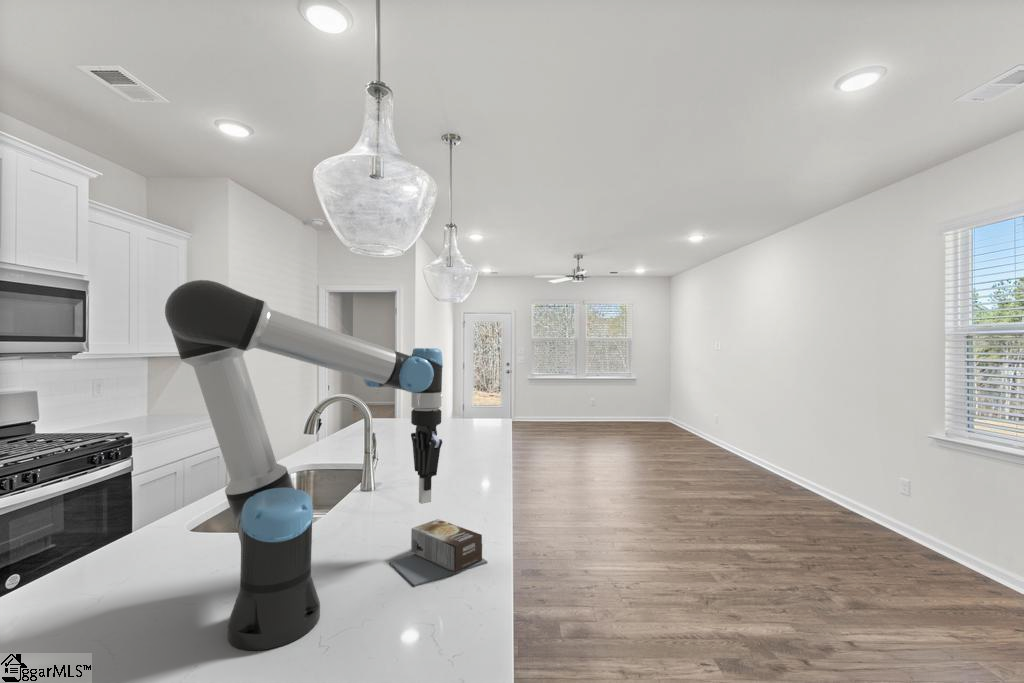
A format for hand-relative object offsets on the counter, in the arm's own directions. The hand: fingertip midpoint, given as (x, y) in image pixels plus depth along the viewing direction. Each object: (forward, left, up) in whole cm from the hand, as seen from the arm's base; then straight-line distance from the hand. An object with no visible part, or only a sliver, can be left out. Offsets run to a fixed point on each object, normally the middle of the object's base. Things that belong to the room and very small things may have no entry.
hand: (424, 502), depth 116 cm
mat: (0, -8, -12) cm, 15 cm away
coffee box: (+1, +1, -9) cm, 9 cm away
